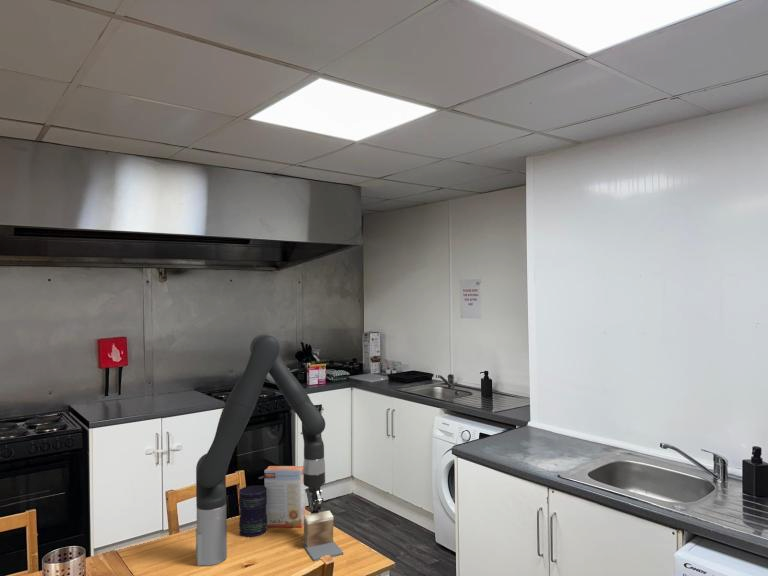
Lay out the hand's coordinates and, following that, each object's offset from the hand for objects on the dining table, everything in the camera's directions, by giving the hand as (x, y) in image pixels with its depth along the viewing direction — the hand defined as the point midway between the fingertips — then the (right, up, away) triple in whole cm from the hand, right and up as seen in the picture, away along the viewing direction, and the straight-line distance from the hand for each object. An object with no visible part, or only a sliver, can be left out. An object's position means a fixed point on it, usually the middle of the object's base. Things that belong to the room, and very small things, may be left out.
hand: (314, 520), depth 180 cm
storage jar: (-23, -8, +7) cm, 26 cm away
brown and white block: (+2, -5, -4) cm, 7 cm away
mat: (+3, -6, -7) cm, 10 cm away
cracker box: (-13, -8, +13) cm, 20 cm away
